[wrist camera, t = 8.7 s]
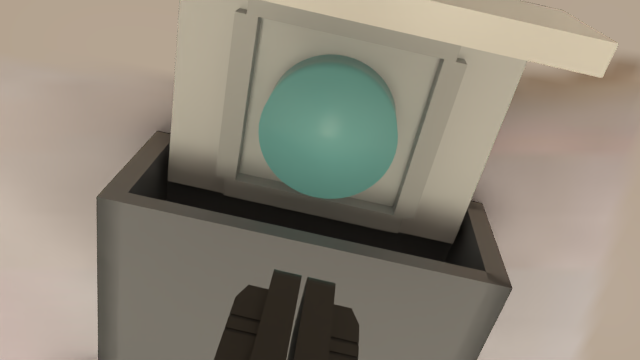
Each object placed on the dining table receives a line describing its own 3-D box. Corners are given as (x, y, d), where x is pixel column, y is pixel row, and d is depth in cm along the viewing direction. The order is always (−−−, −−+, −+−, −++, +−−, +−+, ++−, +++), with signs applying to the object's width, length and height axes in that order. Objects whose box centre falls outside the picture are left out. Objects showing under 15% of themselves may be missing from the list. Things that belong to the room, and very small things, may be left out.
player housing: (157, 131, 28) (96, 196, 22) (482, 203, 28) (512, 288, 22) (148, 297, 34) (98, 386, 28) (418, 355, 34) (428, 456, 28)
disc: (278, 41, 23) (268, 56, 21) (411, 70, 23) (414, 87, 21) (261, 160, 26) (250, 183, 24) (378, 185, 26) (379, 210, 24)
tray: (169, -81, 22) (108, -74, 17) (563, 10, 22) (619, 43, 17) (156, 166, 28) (108, 227, 23) (468, 236, 28) (488, 310, 23)
